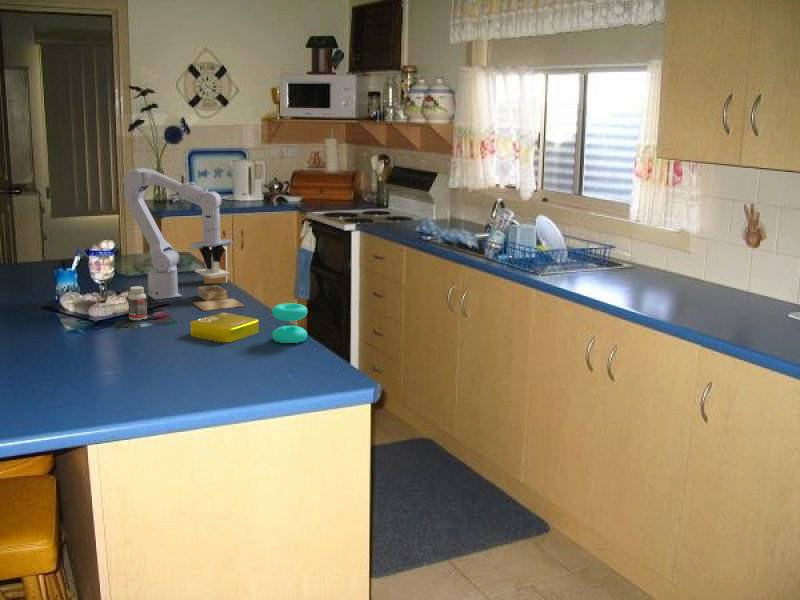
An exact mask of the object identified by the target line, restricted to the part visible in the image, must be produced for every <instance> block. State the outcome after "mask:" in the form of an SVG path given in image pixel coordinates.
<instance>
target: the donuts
mask: <svg viewBox="0 0 800 600" xmlns="http://www.w3.org/2000/svg"><path fill="white" fill-rule="evenodd" d="M271 313H272V316H273V317H274V318H275V319H277V320H279V321H284V322H295V321H300V320H302V319H304V318H305V317H306V316H307V314H308V308H307V307H306V306H305V305H303V304H301V303H294V302H293V303H291V302H289V303H280V304H277V305H275V306H274V307H272V309H271ZM271 335H272V336H271V337H272V339H273V341H274V342H276V343H278V342H280V343H279V344H282V343H296V344H300V343H299V342H301V343H303V342H305V341H306V340H307V338H308V331H307V330H306V329H304V328H303V327H301V326H297V325H282V326H278V327H277V328H276V329H274V330H273V331H272V334H271Z"/></svg>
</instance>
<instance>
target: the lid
mask: <svg viewBox="0 0 800 600" xmlns="http://www.w3.org/2000/svg"><path fill="white" fill-rule="evenodd" d="M205 267H206V264H205ZM194 272H195V273H197V274H199V275H201V276H203V277H204V276H206V277H209V278H218V277H225V275H227V276H228V275H229V276H230V275H231V272H229V271H228V270H227V271H224V270H221V269H219V262H217V261H214V260H211V269H207V268H206V269H204V268H201V269H200V268H199V269H195V270H194Z"/></svg>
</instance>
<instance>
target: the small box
mask: <svg viewBox="0 0 800 600" xmlns="http://www.w3.org/2000/svg"><path fill="white" fill-rule="evenodd" d="M223 247H224V248H225V250H224V252H223V254H222V256H221V259H220V262H219V269H221V270H224V271H227V272H228V246H223ZM209 248H210V250H212V248H211V247H209ZM211 260H213V253H212V257H211ZM203 269H206V267H205V260H204V259H203ZM203 283H204V285H205V284H213V285H214V284H215V285H216V284H217V285H219V284H222V285H223V284H224V285H226V284H227V283H228V275H225V277H218V278H209V277H206V276H203Z"/></svg>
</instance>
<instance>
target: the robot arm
mask: <svg viewBox="0 0 800 600" xmlns="http://www.w3.org/2000/svg"><path fill="white" fill-rule="evenodd" d="M122 183H123V185H124V186H123V187H124V190H123V191H124V200H125V203H126V204H127V206H128V208H129V210H130V212H131V214H132V216H133V217H134V219H135V222H136V223H137V225H138V227H139V229H140V231H141V232H142V233H141V234H143V236H144V238H145V240H146V242H147V243H148V246H149V256H150V258H151V264H152V267H153V269H154V270H153V271H149V272H148V275H147V284H148V286H147V287H148V289H147V290H148V293H147V295H148V296H150V298H152V299H153V300H163V299H171V298H172V299H173V298H174V299H175V298H182V297H183V295H182V294H180V293H179V288H178V285H179V284H178V283H179V282H178V267H177V265H178V264H179V262H180V254H179V253H178V251H177V250H175V248H173V247H172V245H171V243H169V242H168V241H167V240H165V238H164V236H163V234H162V232H161V230H160V229H159V227H158V225H157V222H156V221H155V219H154V217H153V216H152V213H151V212H150V210H149V207H148V205H147V204H146V202H145V200H144V195H145V193H146V191H147V189H148V188H149V187H150V186H159V187H162V188H165V189H167V190H170V191H172V192H176V193H178V194H179V196H180V198H181V199H183V200H185V201H187V202H190V203H193V204H195V205H197V206H199V207H200V208H201V212H202V215H201V218H202V219H201V221H202V225H201V226H202V240H201V241H200V240H199V241H196V242H190V244H189V245H190V249H191V250H199V252H200V254H201V256H202V258H203V261H204V260H205V264H206V268H207V269H211V257H212V253H213V260H214V261H217V262H220V259H221V256H222V254H223V252H224V250H225V248H224V247H223V246H227V247H228V246H233V239H229V238H226V239H221V216H220V214H221V213H220V206H221V204H222V202H223V201H222V197H221V195H220V194H219V193H218V192H217V191H216V190H210V191H209V189H208V188H204V187H200V186H198V185H197V184H196V183H195V182H194V181H190V182H189V181H188V182H184V183H181V182H180V181H177V180H175V179H174V178H171V177H169V176H167V175H165V174H163V173H161V172H158V171H157V170H155V169H151V168H148V167H145V166H144V167H143V166H142V167H139V168H135V169H134V168H133V169H128V171H126V173H125V174H124V177H123V179H122ZM209 247H211V248H212V250H210V248H209Z"/></svg>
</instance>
